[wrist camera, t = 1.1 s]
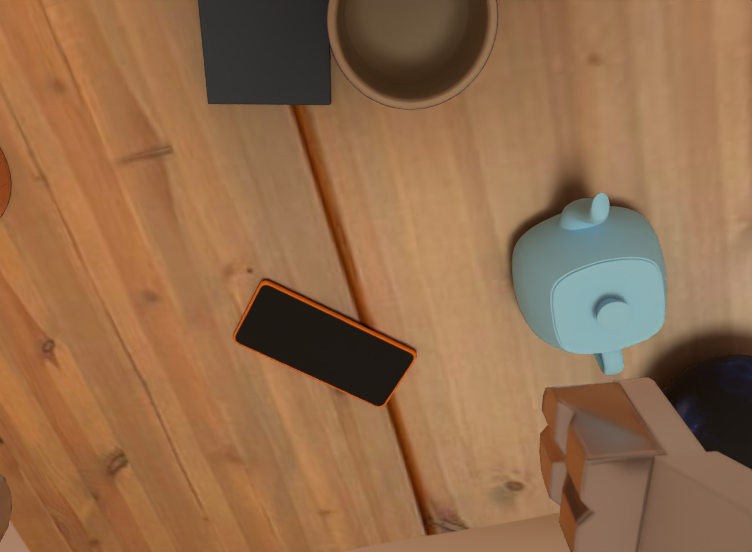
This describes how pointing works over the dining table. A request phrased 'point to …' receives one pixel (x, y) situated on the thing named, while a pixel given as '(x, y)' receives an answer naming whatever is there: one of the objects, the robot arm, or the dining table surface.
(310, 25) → the mat
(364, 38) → the planter
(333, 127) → the dining table surface
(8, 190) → the round wooden tray
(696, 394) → the decorative sphere
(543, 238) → the teapot
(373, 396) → the smartphone
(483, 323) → the dining table surface
